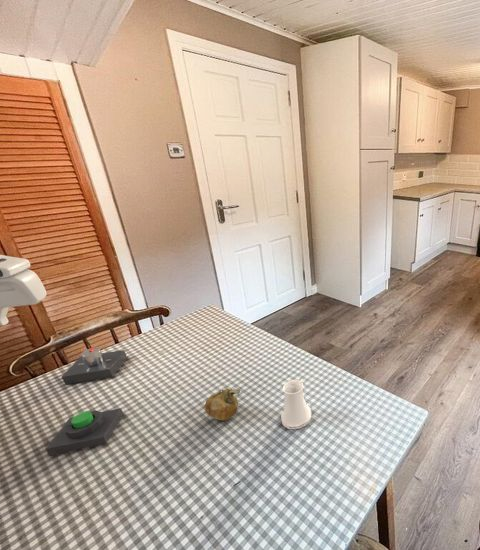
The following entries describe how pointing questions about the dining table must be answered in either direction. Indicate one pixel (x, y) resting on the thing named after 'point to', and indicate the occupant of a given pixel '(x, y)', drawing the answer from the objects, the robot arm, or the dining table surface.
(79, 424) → the button
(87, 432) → the block
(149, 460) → the dining table surface
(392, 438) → the dining table surface
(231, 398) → the onion
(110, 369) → the dial panel
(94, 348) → the program dial
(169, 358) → the dining table surface
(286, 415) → the vase
